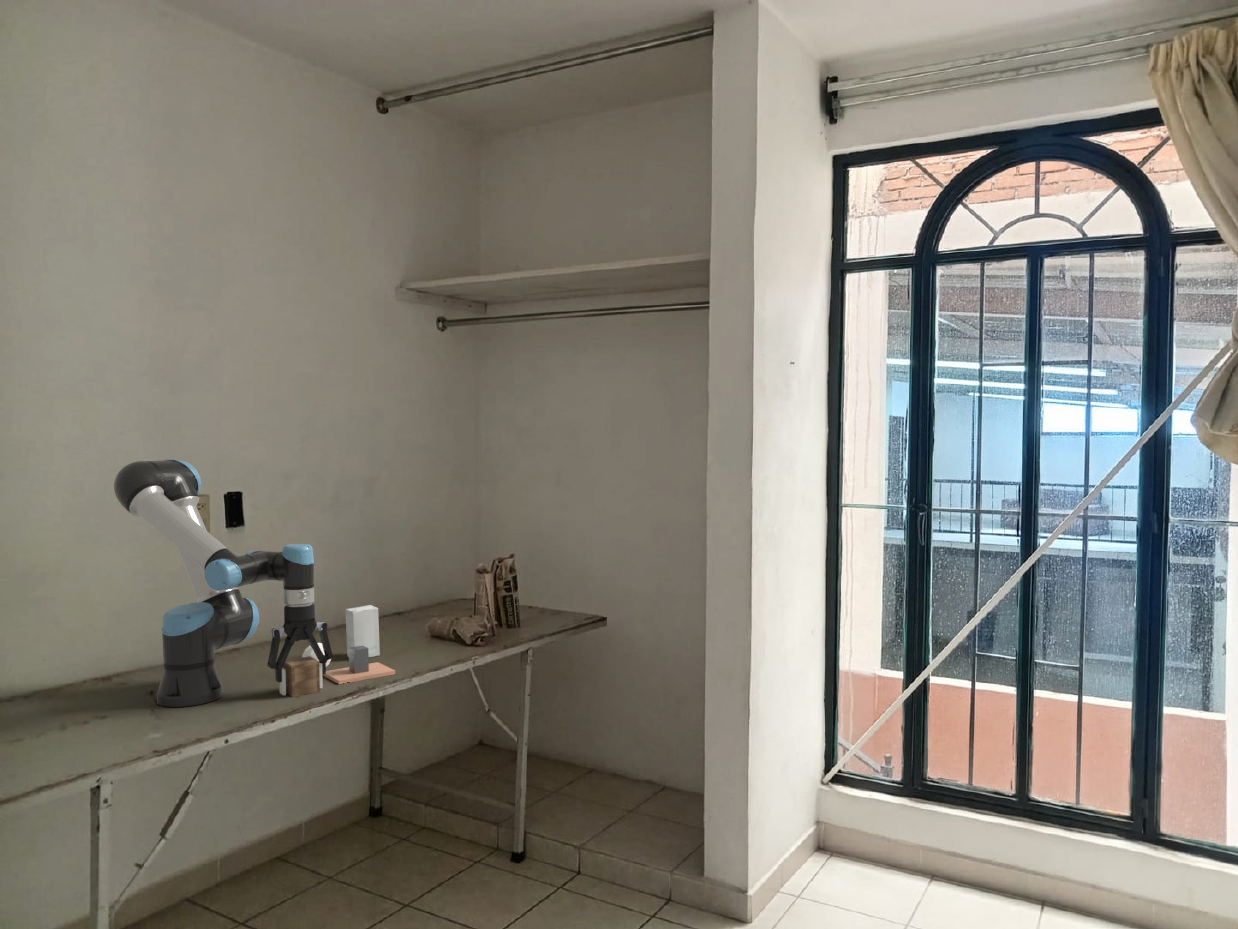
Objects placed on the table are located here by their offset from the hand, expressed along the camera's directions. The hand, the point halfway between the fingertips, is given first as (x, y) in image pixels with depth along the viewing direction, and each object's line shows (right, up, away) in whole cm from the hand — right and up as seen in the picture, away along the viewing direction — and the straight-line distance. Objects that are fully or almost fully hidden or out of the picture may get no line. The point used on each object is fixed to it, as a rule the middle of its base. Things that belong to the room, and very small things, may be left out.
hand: (301, 690), depth 235 cm
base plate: (+10, 0, +16) cm, 19 cm away
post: (+10, 0, +16) cm, 19 cm away
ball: (-3, 0, +22) cm, 22 cm away
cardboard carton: (0, 0, 0) cm, 0 cm away
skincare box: (+6, +1, +36) cm, 37 cm away
